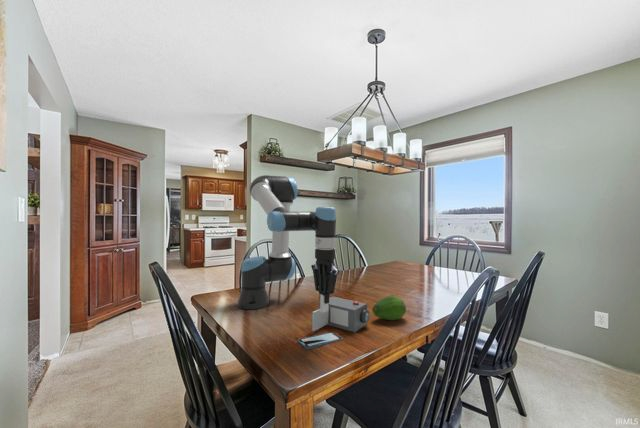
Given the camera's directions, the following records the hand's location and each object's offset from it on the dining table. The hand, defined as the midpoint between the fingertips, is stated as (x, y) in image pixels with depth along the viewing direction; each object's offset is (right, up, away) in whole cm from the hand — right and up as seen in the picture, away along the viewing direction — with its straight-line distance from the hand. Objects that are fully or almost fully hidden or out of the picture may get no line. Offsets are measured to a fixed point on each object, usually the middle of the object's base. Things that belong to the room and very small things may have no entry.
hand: (324, 311), depth 105 cm
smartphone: (-1, -9, -5) cm, 11 cm away
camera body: (+8, -9, +11) cm, 16 cm away
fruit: (+28, -9, +15) cm, 33 cm away
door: (-1, -8, +5) cm, 10 cm away
